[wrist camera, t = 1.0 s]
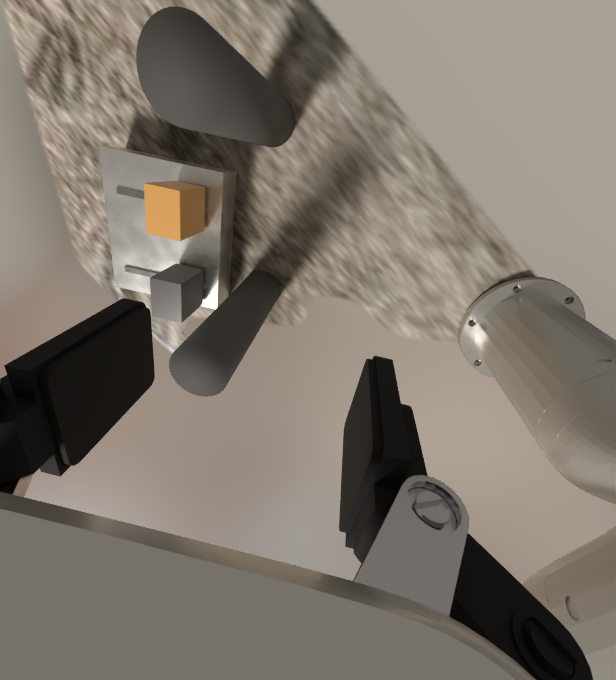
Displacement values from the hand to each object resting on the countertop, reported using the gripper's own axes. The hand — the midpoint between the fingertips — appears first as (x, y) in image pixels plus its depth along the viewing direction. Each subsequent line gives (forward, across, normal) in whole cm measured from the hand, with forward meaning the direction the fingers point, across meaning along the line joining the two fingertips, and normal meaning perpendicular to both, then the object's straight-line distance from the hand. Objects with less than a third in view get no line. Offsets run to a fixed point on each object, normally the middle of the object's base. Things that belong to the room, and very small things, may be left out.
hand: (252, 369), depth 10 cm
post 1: (+28, +7, -8) cm, 30 cm away
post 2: (+28, +6, +9) cm, 30 cm away
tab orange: (+24, +13, 0) cm, 27 cm away
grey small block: (+24, +13, +8) cm, 28 cm away
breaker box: (+28, +16, +4) cm, 32 cm away
